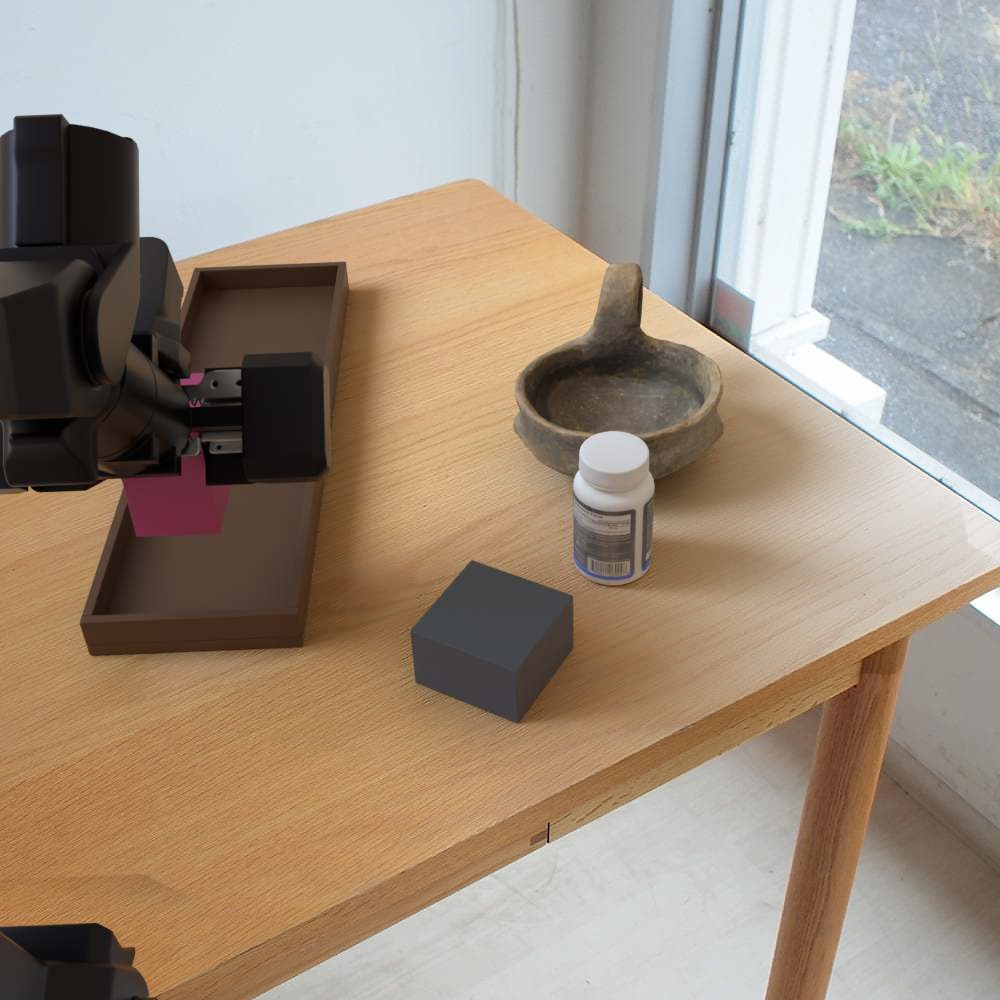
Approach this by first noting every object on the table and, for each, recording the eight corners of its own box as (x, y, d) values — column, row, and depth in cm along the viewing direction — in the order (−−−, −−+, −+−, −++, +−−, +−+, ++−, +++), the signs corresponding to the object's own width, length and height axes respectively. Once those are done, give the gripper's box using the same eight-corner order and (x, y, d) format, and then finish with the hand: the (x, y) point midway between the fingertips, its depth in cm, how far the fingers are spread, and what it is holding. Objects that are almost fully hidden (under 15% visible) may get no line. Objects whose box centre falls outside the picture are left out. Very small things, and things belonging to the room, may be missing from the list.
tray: (302, 647, 75) (297, 613, 74) (89, 655, 75) (78, 622, 74) (349, 289, 108) (345, 261, 106) (199, 295, 108) (194, 267, 106)
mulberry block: (220, 533, 72) (196, 420, 68) (136, 537, 72) (106, 424, 68) (231, 482, 76) (209, 372, 71) (151, 486, 76) (124, 375, 71)
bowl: (501, 515, 84) (496, 384, 78) (533, 367, 98) (531, 245, 91) (720, 528, 82) (732, 395, 76) (721, 375, 96) (731, 252, 90)
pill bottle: (613, 526, 83) (616, 416, 78) (667, 563, 80) (673, 451, 75) (556, 559, 81) (555, 448, 75) (610, 599, 78) (612, 486, 72)
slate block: (518, 724, 70) (516, 671, 68) (415, 682, 73) (409, 630, 70) (573, 647, 75) (573, 595, 72) (474, 611, 77) (471, 559, 75)
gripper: (301, 207, 59) (344, 302, 74) (-119, 224, 59) (12, 315, 74) (306, 455, 57) (349, 499, 73) (-124, 472, 57) (11, 512, 73)
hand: (179, 450), depth 73 cm, fingers closed on mulberry block, 4 cm apart
